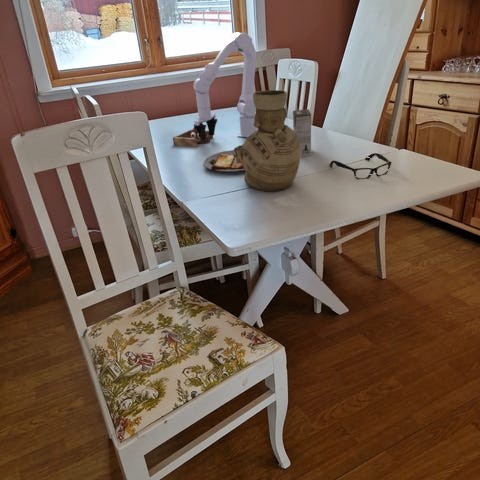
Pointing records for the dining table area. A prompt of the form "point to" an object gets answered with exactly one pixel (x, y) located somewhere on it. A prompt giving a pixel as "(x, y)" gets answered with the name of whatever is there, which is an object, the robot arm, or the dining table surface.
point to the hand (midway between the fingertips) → (207, 137)
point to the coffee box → (303, 130)
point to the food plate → (223, 162)
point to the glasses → (365, 168)
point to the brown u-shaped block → (187, 139)
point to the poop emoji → (195, 135)
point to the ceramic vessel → (270, 145)
